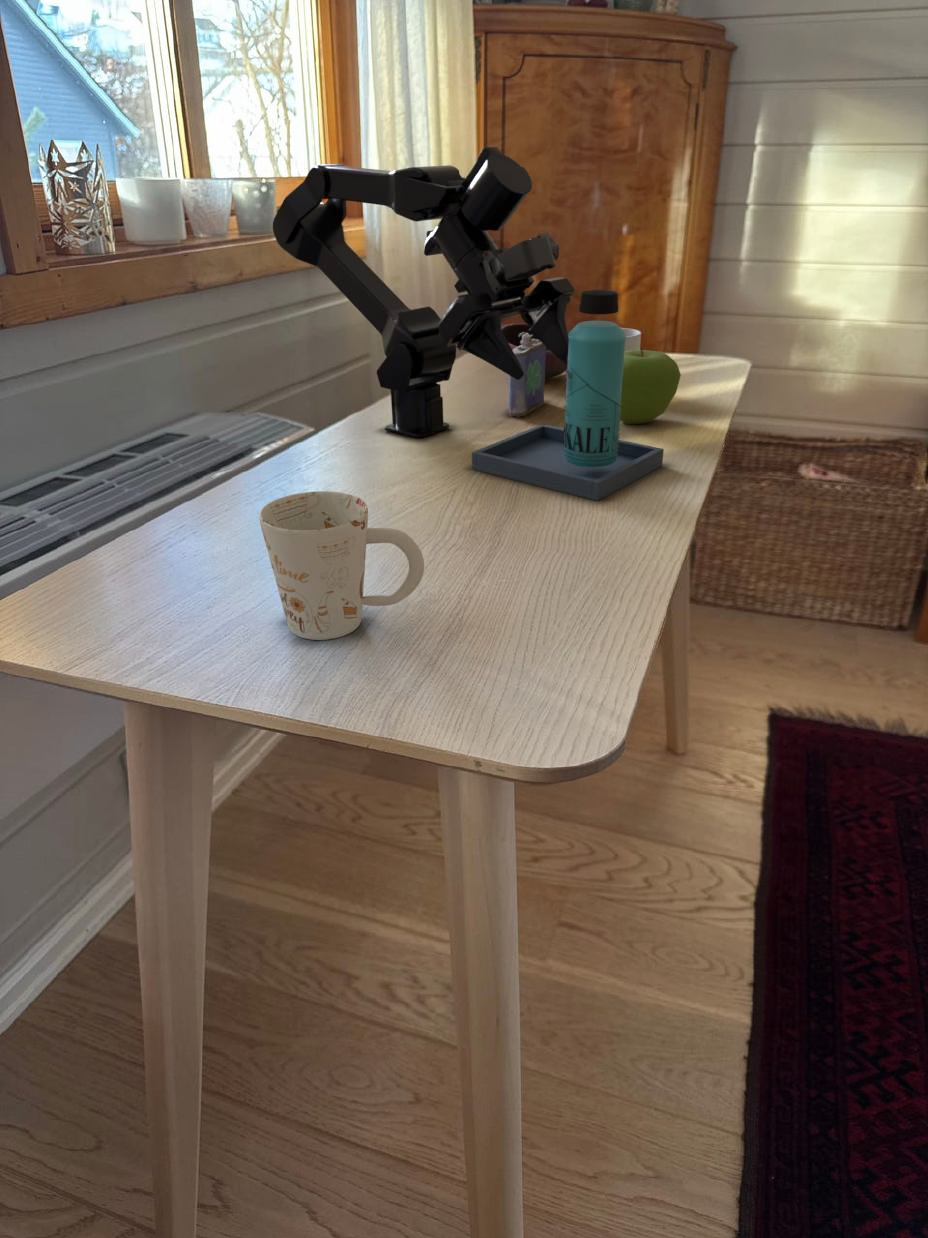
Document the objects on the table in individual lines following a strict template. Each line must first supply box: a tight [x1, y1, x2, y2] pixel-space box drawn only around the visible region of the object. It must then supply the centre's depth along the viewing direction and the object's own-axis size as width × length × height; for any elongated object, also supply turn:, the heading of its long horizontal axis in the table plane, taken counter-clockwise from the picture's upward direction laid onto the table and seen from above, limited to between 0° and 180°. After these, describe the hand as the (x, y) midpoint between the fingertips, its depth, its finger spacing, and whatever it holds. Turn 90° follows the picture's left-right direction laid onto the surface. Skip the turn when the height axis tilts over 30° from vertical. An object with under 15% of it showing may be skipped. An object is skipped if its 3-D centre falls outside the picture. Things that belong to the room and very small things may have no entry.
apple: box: [620, 347, 682, 425], centre depth 122 cm, size 11×10×10 cm
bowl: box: [501, 321, 568, 380], centre depth 145 cm, size 16×13×8 cm
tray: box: [471, 423, 665, 502], centre depth 107 cm, size 18×15×2 cm
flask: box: [507, 332, 546, 418], centre depth 128 cm, size 9×3×11 cm, turn 151°
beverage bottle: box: [563, 289, 626, 467], centre depth 99 cm, size 6×7×20 cm
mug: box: [258, 490, 425, 641], centre depth 72 cm, size 8×13×10 cm, turn 95°
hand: (546, 369), depth 103 cm, fingers open, 9 cm apart
